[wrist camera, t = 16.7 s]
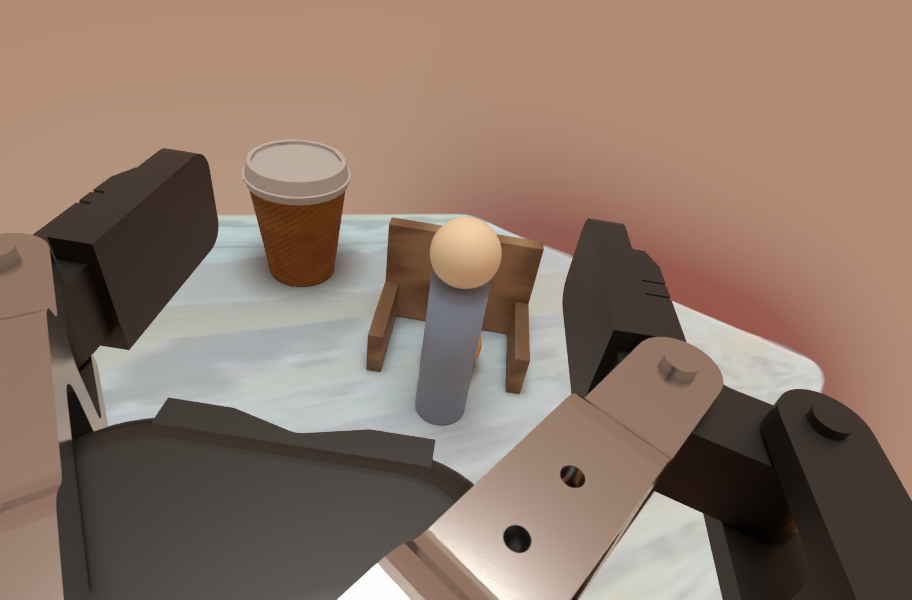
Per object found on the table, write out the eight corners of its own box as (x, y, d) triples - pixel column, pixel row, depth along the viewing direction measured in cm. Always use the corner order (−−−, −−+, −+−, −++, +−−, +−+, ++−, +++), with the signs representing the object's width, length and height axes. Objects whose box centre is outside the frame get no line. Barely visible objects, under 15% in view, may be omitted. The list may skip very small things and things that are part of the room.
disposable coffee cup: (233, 265, 54) (216, 153, 47) (309, 232, 61) (304, 129, 53) (295, 310, 50) (287, 196, 43) (369, 270, 57) (373, 164, 49)
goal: (366, 369, 46) (370, 275, 40) (385, 306, 53) (391, 217, 46) (519, 393, 46) (547, 304, 40) (519, 327, 53) (543, 241, 47)
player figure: (407, 423, 42) (428, 236, 31) (416, 380, 46) (438, 198, 35) (465, 432, 42) (507, 248, 31) (469, 388, 46) (508, 210, 35)
